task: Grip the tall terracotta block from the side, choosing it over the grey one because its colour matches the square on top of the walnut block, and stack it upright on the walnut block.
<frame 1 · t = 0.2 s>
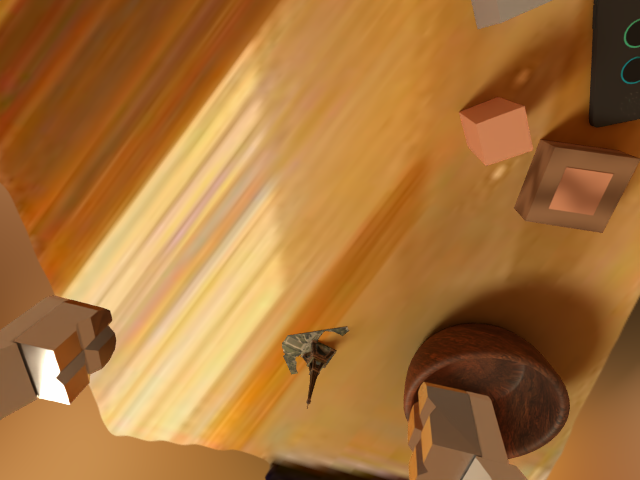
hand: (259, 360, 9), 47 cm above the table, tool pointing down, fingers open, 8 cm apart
walnut base block: (562, 180, 52), on the table
wooden bowl: (469, 364, 68), on the table
terracotta block: (482, 122, 50), on the table
eiffel tower figurine: (319, 348, 73), on the table
smart home device: (627, 33, 44), on the table
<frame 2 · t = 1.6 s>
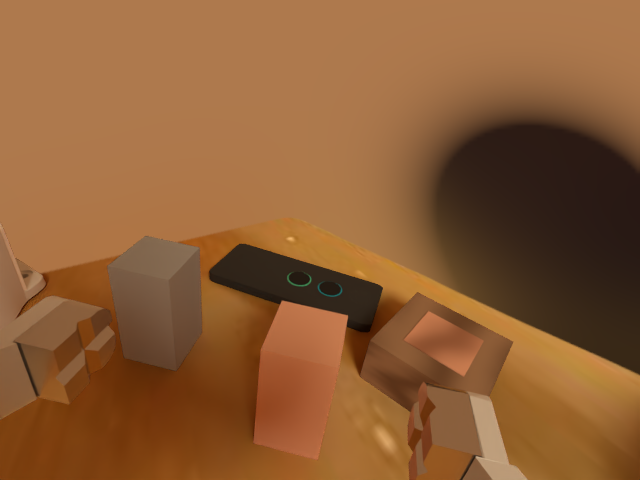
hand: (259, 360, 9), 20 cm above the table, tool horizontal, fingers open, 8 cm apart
walnut base block: (428, 377, 36), on the table
grey block: (165, 344, 35), on the table
terracotta block: (293, 421, 30), on the table
smart home device: (296, 290, 46), on the table
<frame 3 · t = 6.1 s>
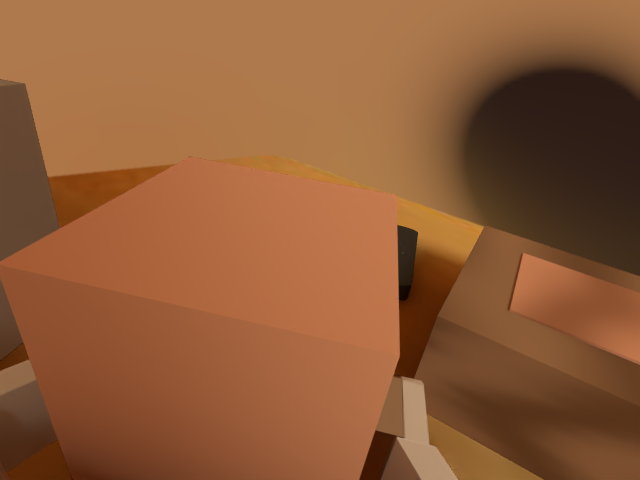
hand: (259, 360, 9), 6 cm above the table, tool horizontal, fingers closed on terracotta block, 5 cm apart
walnut base block: (538, 387, 18), on the table
smart home device: (273, 241, 27), on the table
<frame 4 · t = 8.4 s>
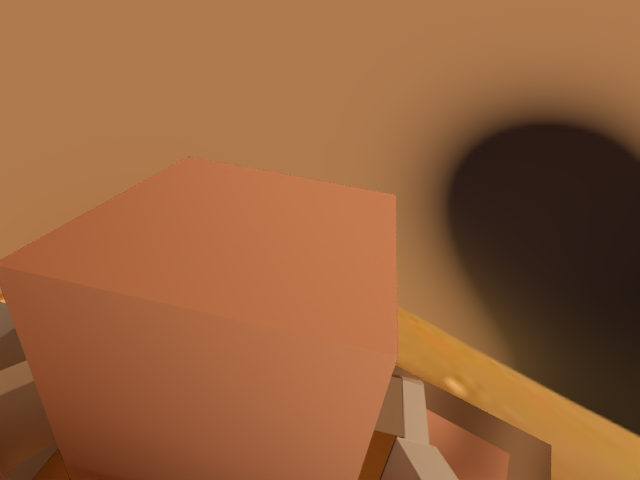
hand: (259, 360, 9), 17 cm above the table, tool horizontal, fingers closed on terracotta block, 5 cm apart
grey block: (5, 455, 22), on the table
when the fingers open (12 cm above the table, at t = 10.8 s): terracotta block drops 2 cm, resting on walnut base block.
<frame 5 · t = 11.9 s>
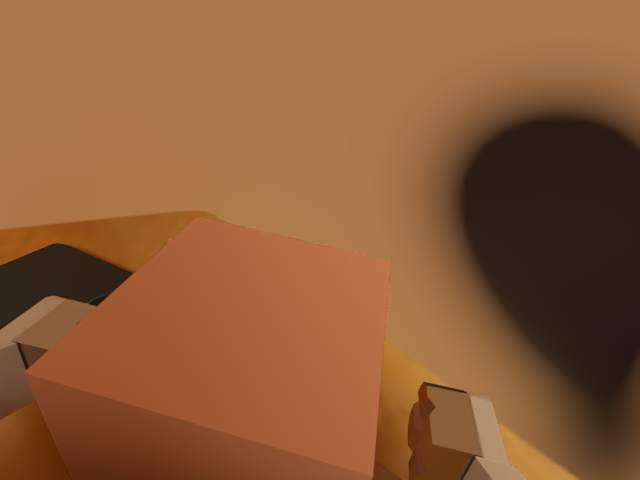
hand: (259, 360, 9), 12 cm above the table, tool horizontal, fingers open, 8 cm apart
smart home device: (107, 328, 26), on the table
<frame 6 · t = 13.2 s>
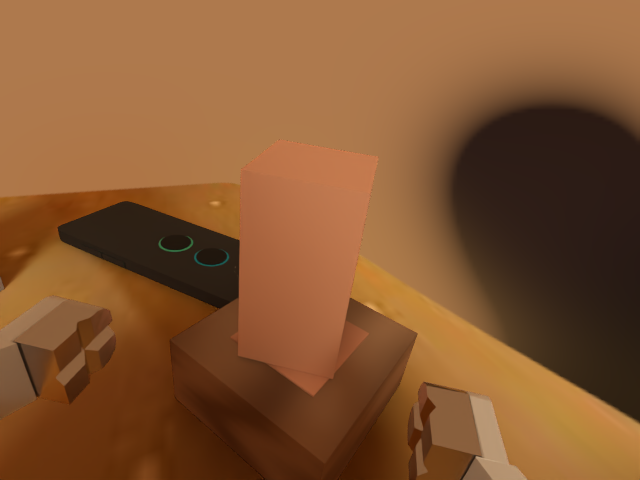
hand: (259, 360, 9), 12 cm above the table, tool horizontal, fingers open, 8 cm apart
walnut base block: (293, 394, 23), on the table, touching terracotta block
terracotta block: (296, 333, 21), point 5 cm above the table, touching walnut base block
smart home device: (174, 259, 35), on the table
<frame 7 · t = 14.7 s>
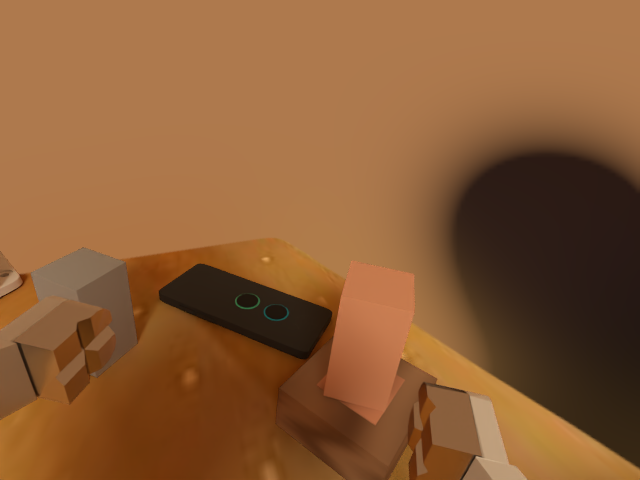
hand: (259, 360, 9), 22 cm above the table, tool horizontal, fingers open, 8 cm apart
walnut base block: (352, 420, 34), on the table, touching terracotta block
grey block: (98, 350, 37), on the table
terracotta block: (357, 379, 32), point 5 cm above the table, touching walnut base block
smart home device: (245, 313, 46), on the table
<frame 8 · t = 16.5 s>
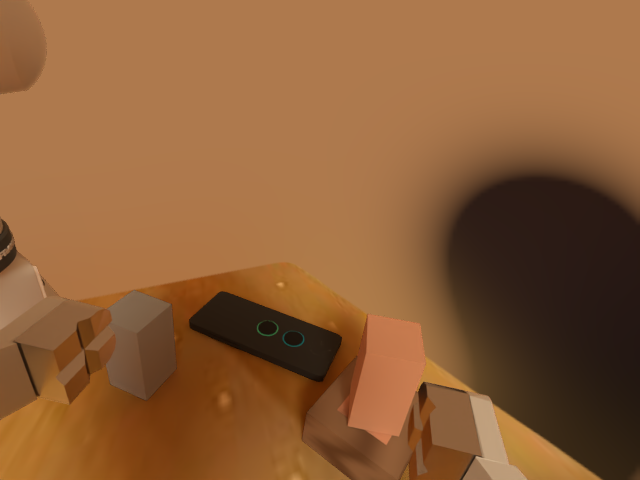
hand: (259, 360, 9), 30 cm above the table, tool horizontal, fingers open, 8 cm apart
walnut base block: (365, 437, 41), on the table
grey block: (144, 376, 43), on the table
terracotta block: (373, 408, 38), point 5 cm above the table
smart home device: (265, 338, 52), on the table
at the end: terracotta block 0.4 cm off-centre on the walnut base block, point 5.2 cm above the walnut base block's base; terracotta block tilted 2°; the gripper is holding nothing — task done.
